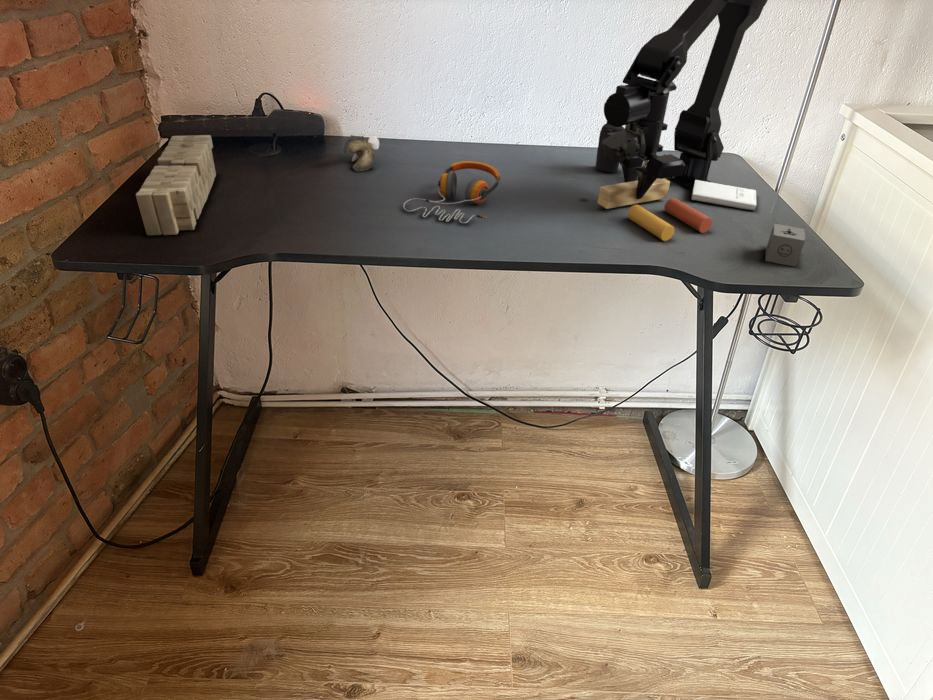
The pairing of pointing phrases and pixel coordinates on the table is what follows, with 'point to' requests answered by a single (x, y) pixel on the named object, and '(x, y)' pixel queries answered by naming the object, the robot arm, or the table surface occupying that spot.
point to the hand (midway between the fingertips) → (633, 195)
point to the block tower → (177, 186)
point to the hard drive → (724, 195)
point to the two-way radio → (601, 161)
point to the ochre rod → (651, 222)
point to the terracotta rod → (688, 215)
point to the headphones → (474, 189)
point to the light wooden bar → (631, 193)
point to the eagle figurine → (361, 151)
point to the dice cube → (785, 245)
